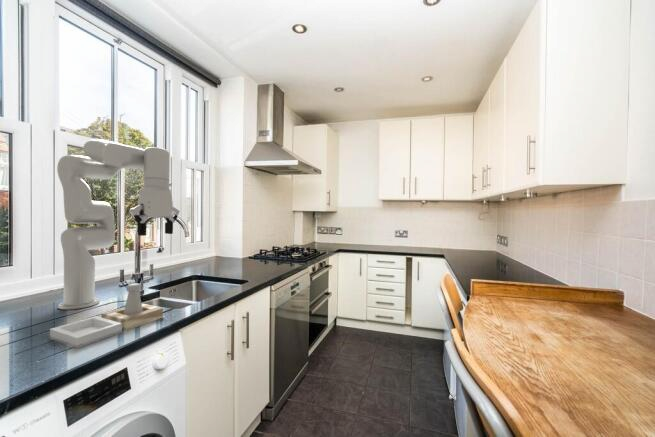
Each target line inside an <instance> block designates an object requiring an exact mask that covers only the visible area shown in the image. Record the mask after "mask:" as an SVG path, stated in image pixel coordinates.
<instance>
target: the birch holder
mask: <svg viewBox="0 0 655 437" xmlns="http://www.w3.org/2000/svg"><path fill="white" fill-rule="evenodd" d="M141 304H142V309H143V312H140V313H137V314H133V315H130V316H128V315H124V310H125V306H123V307H119V308H116V309H113V310H108V311H106V312H102V313H101V318H105V319H108V320H112V321H116V322H119V323H122V331H128V330H131V329H134V328H137V327H139V326H143V325H145V324H148V323H151V322H154V321H157V320H159V319H162V318H164V308H163V307H161V306H155V305H152V304H146V303H142V302H141Z"/></svg>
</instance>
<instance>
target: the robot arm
mask: <svg viewBox="0 0 655 437" xmlns="http://www.w3.org/2000/svg"><path fill="white" fill-rule="evenodd" d="M82 147H83V148H82V149H83V152H84V154H85V155H86V156H84V155H78V154H77V155H76V154H68V155H67V154H66V155H63V156H62V157H60V158H59V160H58V162H57V169H56V171H57V175H58V178H59V181H60V184H61V186H62V190H63V212H64V217H65V220H66V222H68V223H70V224H80V225H81V224H82V225H83V224H84V225H85V224H86V225H87V224H96V226H76V227H70V228H67V229H66V228H65V230H64V231H63V232H61V235H60V244H61V247H62V254H63V294H62V298H63V301H61V302H60V303H59V304H58V305H57V308H58V309H60V310H67V311H68V310H69V311H70V310H77V309H79V310H80V309H85V308H88V307H92V306H95V305H97V304H99V303H100V298H98V297H95V294H96V293H95V292H96V291H95V290H96V289H95V288H96V287H95V286H96V283H95V282H96V281H95V280H96V261H95V258H94V256H93V255H92V254H91V253H90V252H89V251H90V250H91V251H92V250H100V249H109V248H111V247H112V246H114V243H115V240H116V228H115V213H114V209H113V207H112V205H111V204H110V203H109V202H106V201H101V200H93V199H92V190H91V187H90V186H89V184H87V183H86V181H85V180H84V178H85V179H93V180H103V181H108V180H112V179H114V177H116V176H117V175H118V173H120V172H121V170H123V169H129V170H136V171H140V172H141V171H142V172H143V187H140V191H139V193H138V199H137V205H136V206H134V207H132V208H130V209H129V210H128V212H129V214H130V216H131V218H132V219H133V221H135V223H136V224H137V225H136V226H137V230H136V231H137V235H138V236H144V237H145V236H147V223H146V221H147V220H148V219H149V218H163V219H164V220H165V223H164V234H167V235H172V234H174V232H173V231H174V223H175V222H176V220H177V219H178V217H179V215H180V214H179V213H180V210H179V209H177V208H176V207H174V206H173V203H174V202H173V195H172V190H171V189H170V187H172V184H173V183H171V182H170V163H171V162H170V159H171V158H170V157H171V156H170V152H169V151H168V150H167V149H165V148H163V147H159V146H158V147H155V146H149V147H148V146H147V147H145V149H143V148H139V147H136V146H135V147H134V146H131V145H126V144H122V143H120V142H114V141H109V140H105V139H99V138H93V139H90V140H87V141H86V142H85V143H84V145H83V146H82ZM82 178H83V179H82Z"/></svg>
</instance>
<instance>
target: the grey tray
mask: <svg viewBox="0 0 655 437" xmlns="http://www.w3.org/2000/svg"><path fill="white" fill-rule="evenodd" d="M122 333H123V330H122V323H119V322H116V321H112V320H108V319H105V318H102V316H97V315H95V316H91V317H87V318H84V319H80V320H77V321H73V322H70V323H67V324H62V325H59V326H56V327H53V328H50V329H49V339H50V340H51V341H55V342H57V343H60V344H63V345H66V346H68V347H71V348H73V349H80V348H83V347H86V346H88V345H89V346H90V344H94V343H97V342H100V341H103V340H106V339H109V338H111V337H114V336H117V335H119V334H122Z"/></svg>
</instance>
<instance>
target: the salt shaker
mask: <svg viewBox="0 0 655 437" xmlns="http://www.w3.org/2000/svg"><path fill="white" fill-rule="evenodd" d="M125 289H126V292H128V293H127V298H126V302H125V306H124V307H125V310H124V315H128V316H130V315H133V314H137V313H140V312H143V309H142V304H141V303H142V300H141V294H140V290H141V289H142V285H141V284H140V283H138V282H137V283H135V282H134V283H129V284H128V285H126V288H125Z"/></svg>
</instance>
